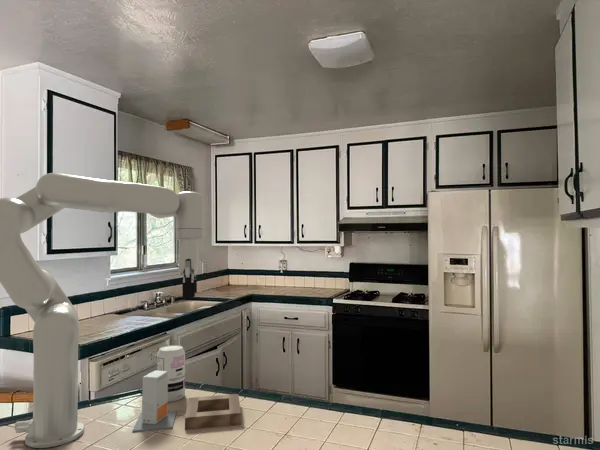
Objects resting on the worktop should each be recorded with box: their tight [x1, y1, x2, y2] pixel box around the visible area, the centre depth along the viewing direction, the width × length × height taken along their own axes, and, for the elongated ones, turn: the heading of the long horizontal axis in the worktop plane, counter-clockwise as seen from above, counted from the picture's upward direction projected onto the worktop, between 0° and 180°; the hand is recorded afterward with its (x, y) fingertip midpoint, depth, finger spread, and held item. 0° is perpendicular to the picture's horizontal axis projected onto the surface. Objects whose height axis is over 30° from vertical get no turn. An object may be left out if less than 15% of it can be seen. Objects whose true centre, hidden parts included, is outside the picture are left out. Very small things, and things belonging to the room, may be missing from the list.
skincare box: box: [141, 369, 168, 424], centre depth 112 cm, size 6×4×12 cm
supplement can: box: [156, 344, 186, 403], centre depth 129 cm, size 8×8×15 cm
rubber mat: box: [132, 409, 178, 433], centre depth 111 cm, size 10×11×1 cm
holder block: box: [184, 393, 242, 431], centre depth 114 cm, size 14×14×3 cm
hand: (190, 295), depth 120 cm, fingers open, 9 cm apart
